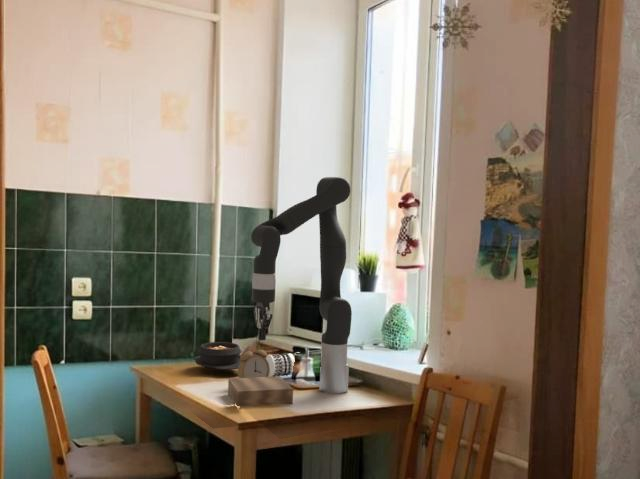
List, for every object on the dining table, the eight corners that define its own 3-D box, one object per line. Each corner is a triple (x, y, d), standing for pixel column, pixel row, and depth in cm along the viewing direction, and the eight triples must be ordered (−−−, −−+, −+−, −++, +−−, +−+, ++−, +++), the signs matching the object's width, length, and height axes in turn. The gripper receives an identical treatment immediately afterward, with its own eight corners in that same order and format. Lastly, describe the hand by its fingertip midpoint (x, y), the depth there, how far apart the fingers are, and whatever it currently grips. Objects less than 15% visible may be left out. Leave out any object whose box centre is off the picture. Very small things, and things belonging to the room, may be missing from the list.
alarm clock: (242, 389, 235) (243, 347, 234) (235, 386, 239) (236, 344, 238) (270, 385, 242) (271, 344, 241) (262, 382, 246) (264, 341, 245)
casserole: (257, 370, 264) (257, 348, 263) (215, 376, 252) (216, 354, 251) (222, 357, 283) (223, 337, 282) (182, 363, 271) (183, 342, 270)
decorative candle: (263, 357, 259) (322, 352, 270) (267, 381, 255) (327, 375, 267) (271, 349, 252) (331, 345, 263) (275, 374, 248) (336, 368, 259)
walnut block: (279, 393, 234) (280, 376, 234) (292, 407, 219) (293, 388, 218) (227, 396, 228) (228, 378, 228) (237, 410, 213) (237, 391, 213)
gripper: (281, 289, 217) (279, 343, 218) (268, 284, 229) (266, 335, 230) (259, 289, 214) (256, 344, 215) (246, 284, 226) (244, 336, 227)
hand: (261, 339), depth 222 cm, fingers closed
